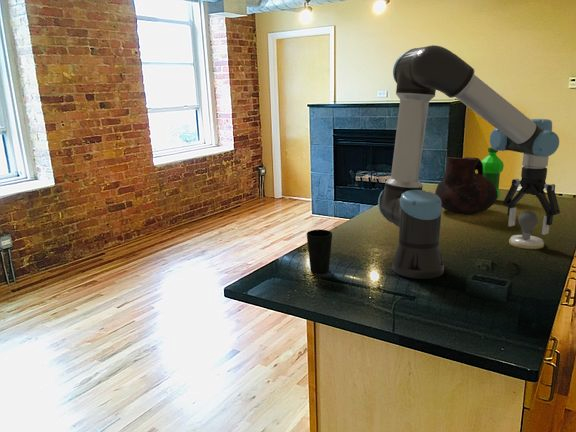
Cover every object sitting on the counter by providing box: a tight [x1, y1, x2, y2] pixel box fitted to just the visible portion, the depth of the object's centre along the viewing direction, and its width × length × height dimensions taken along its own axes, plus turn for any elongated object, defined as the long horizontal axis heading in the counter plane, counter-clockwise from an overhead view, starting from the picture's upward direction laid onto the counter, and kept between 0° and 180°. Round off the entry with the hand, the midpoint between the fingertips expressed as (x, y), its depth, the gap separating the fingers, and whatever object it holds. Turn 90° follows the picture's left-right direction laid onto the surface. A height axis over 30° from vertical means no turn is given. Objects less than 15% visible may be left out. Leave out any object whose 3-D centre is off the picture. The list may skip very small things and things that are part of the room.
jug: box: [434, 156, 498, 216], centre depth 203 cm, size 25×25×25 cm
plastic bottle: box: [480, 147, 505, 199], centre depth 223 cm, size 10×10×25 cm
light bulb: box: [517, 210, 539, 240], centre depth 162 cm, size 6×6×10 cm
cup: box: [306, 229, 333, 275], centre depth 143 cm, size 8×8×12 cm
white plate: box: [508, 234, 545, 250], centre depth 164 cm, size 11×11×2 cm
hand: (527, 229), depth 163 cm, fingers open, 11 cm apart
